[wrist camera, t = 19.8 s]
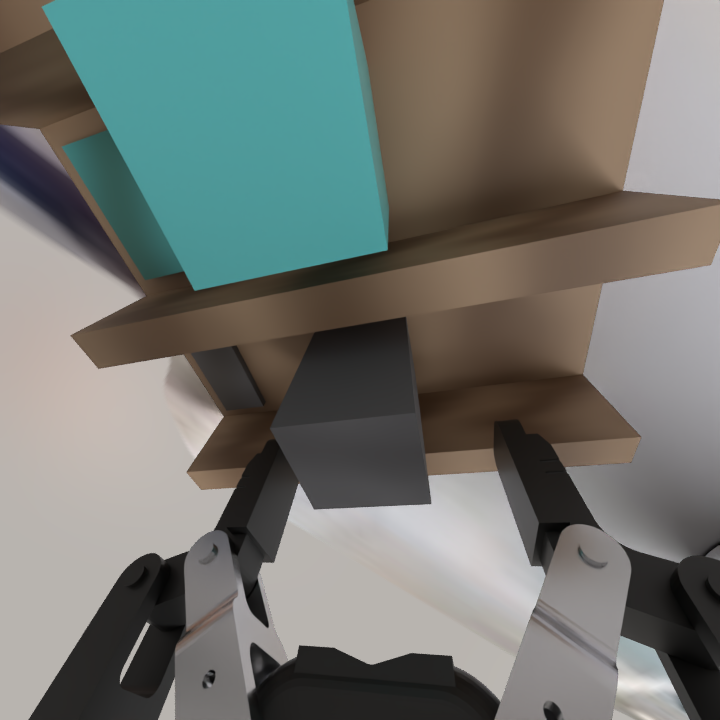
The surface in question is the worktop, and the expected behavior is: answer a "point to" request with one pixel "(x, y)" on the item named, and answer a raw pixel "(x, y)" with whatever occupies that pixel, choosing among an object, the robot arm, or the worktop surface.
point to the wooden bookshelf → (416, 226)
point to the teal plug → (238, 126)
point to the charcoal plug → (356, 419)
